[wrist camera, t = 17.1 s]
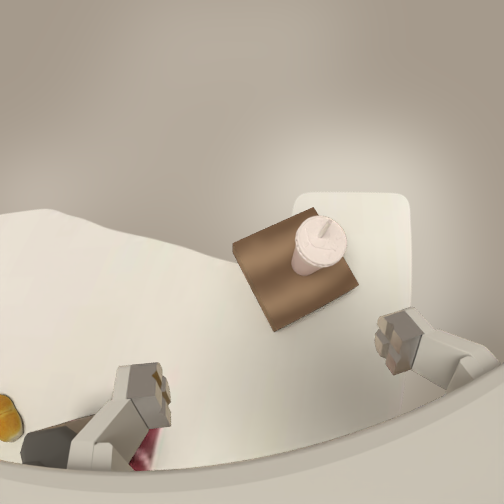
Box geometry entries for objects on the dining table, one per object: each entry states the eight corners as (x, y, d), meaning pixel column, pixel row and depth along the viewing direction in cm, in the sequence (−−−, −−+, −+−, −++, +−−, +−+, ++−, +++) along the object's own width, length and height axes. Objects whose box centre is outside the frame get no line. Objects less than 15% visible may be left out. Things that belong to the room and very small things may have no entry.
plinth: (350, 290, 51) (359, 284, 47) (273, 332, 48) (277, 329, 44) (308, 217, 54) (313, 207, 51) (232, 252, 52) (232, 243, 48)
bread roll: (6, 386, 41) (-7, 386, 38) (30, 429, 40) (18, 432, 36) (-15, 406, 39) (-28, 406, 36) (8, 447, 37) (-4, 450, 34)
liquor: (72, 419, 41) (-61, 451, 13) (118, 408, 43) (-6, 448, 14) (93, 469, 39) (-19, 540, 10) (140, 460, 40) (47, 550, 12)
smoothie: (296, 235, 49) (322, 188, 36) (331, 258, 48) (370, 219, 35) (273, 269, 47) (294, 230, 34) (311, 293, 46) (346, 264, 33)
